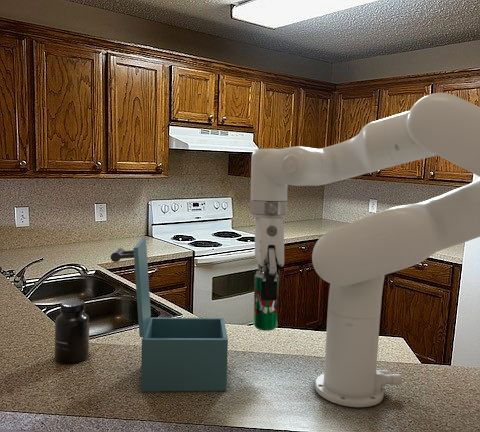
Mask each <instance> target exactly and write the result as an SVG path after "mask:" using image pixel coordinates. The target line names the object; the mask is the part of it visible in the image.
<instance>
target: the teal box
mask: <svg viewBox="0 0 480 432" xmlns="http://www.w3.org/2000/svg"><path fill="white" fill-rule="evenodd" d="M228 347H229V337H228V333H227V327H226V322H225V318H224V317H150V320H149V323H148V326H147V329H146V332H145V335H144V337H141V359H140V361H141V363H140V364H141V365H140V366H141V367H140V392H141V393H142V392H223V391H224V392H227V381H228V379H227V375H228V352H229V351H228Z"/></svg>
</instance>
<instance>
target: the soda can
mask: <svg viewBox="0 0 480 432" xmlns="http://www.w3.org/2000/svg"><path fill="white" fill-rule="evenodd" d="M267 270H269V269H266V271H267ZM253 280H254V283H253V284H254V285H253V287H254V288H253V327H254V328H256V329H257V330H259V331H264V332H265V331H266V332H269V331H274V330H275V329H276V328H277V327H278V325H279V294H280V293H279V292H280V291H279V285H280V276H279V274H278V273H277V299H276V300H275V301H262V300H261V281H263V276H262V269H261V270H258V269H257V270H256V271H255V274H254V279H253Z"/></svg>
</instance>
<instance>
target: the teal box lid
mask: <svg viewBox="0 0 480 432" xmlns="http://www.w3.org/2000/svg"><path fill="white" fill-rule="evenodd" d="M123 259H133V264H134V275H135V290H136V291H135V293H136V304H137V305H136V307H137V316H138V317H137V320H138V334H139V338H143V337H144V335H145V332H146V329H147V326H148V323H149V320H150V318H151V316H152V311H151V308H152V307H151V296H150V295H151V294H150V279H149V265H148V264H149V263H148V251H147V237H141V238H140V239H139V241H138V242H137V243H136V244H135V245H134V246H133V247H132V249H131V250H124V249H123V248H121V247H118V248H117V249H115V250H114V251H113V252H112V253H111V255H110V260H111V261H112V262H114V263H117V262H120V260H123Z"/></svg>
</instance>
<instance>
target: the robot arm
mask: <svg viewBox="0 0 480 432" xmlns="http://www.w3.org/2000/svg"><path fill="white" fill-rule="evenodd" d="M437 156H438V157H440V158H442V159H443V160H445V161H447V162H450V163H451V164H453V165H456V166H457V167H459V168H461V169H463V170H465V171H468V172H470V173H471V174H474V175H476V176H477V177H479V178H477V179H476V180H474V181H473V182H470V183H468V184H466V185H463V186H461V187H458V188H455V189H452V190H450V191H447V192H445V193H443V194H441V195H438V196H435V197H432V198H429V199H427V200H423V201H421V202H416V203H408V204H402V205H396V206H393V207H389V208H387V209H383V210H380V211H378V212H376V213H373V214H370V215H368V216H365V217H363V218H360V219H358V220H354V221H353V222H349V223H347V224H345V225H342V226H339V227H336V228H334V229H331V230H329V231H327V232H325V233H324V234H322V235H321V236H320V237H319V238H318V240H317V241H316V243H315V244H314V247H313V250H312V253H311V262H312V266H313V269H314V271H315V273H317V275H318V276H319V277H320V278H321V280H323V281H325V282H327V283H328V284H329V291H328V299H327V300H328V301H327V315H326V316H327V317H326V331H325V332H326V333H325V349H324V350H325V351H324V368H323V373H321V374H320V375H318V376H317V377H316V378H315V380H314V389H315V391H316V392H317V394H318V395H320V396H321V397H322V398H323V399H325V400H326V401H329V402H331V403H333V404H336V405H340V406H343V407H350V408H369V407H373V406H376V405H378V404H380V403H381V402H382V401H383V399H384V395H385V394H384V393H385V391H384V387H385V386H386V385H390V386H400V385H402V381H403V380H402V376H401V374H400V373H390V371H389V370H388V369H378V368H377V366H378V353H379V337H380V323H381V311H382V298H383V297H382V296H383V291H384V290H383V289H384V282H385V276H386V275H389V274H393V273H395V272H399V271H402V270H405V269H408V268H411V267H413V266H416V265H418V264H420V263H422V262H424V261H426V260H427V259H428V258H430V257H431V256H433V255H435V254H436V253H438V252H440V251H443V250H446V249H448V248H453V247H454V246H457V245H461V244H464V243H467V242H469V241H472V240H475V239H478V238H480V106H479V105H476V104H474V103H472V102H470V101H467V100H466V99H463V98H461V97H459V96H457V95H454V94H451V93H449V92H434V93H430V94H428V95H427V94H426V95H425V96H423V97H421V98H420V99H418V100H417V101H415V102H414V104H413V105H412V106H411V108H410V109H409V110H407V111H403V112H401V113H397V114H394V115H391V116H388V117H384V118H381V119H378V120H375V121H370V122H368V123H366V124H365V125H364V126H363V127H362V128H361V130H360V131H359V132H358V134H357V135H354V136H353V137H351V138H350V139H348V140H344V141H342V142H339V143H335V144H332V145H329V146H325V147H322V148H315V147H308V146H301V145H298V146H289V147H284V148H257V149H255V150H254V151H252V153H251V159H250V160H251V161H250V200H249V201H250V203H249V204H250V205H249V206H250V207H249V216H250V217H252V218H255V220H254V221H255V222H254V258H255V260H256V262H257V270H261V269H262V276H263V281H261V300H262V301H275V300H276V299H277V274H278V271H277V270H278V269H277V265H278V266H279V267H284V265H285V228H284V219H285V218H287V217H288V216H287V215H288V214H287V213H288V186H295V187H311V186H312V187H318V186H325V185H328V184H333V183H337V182H339V181H345V180H348V179H353V178H355V177H360V176H363V175H366V174H370V173H371V174H372V173H375V172H377V171H381V170H385V169H389V168H392V167H396V166H400V165H404V164H408V163H410V162H415V161H419V160H424V159H425V160H426V159H429V158H433V157H437ZM266 269H269V270H267V271H266Z"/></svg>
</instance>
